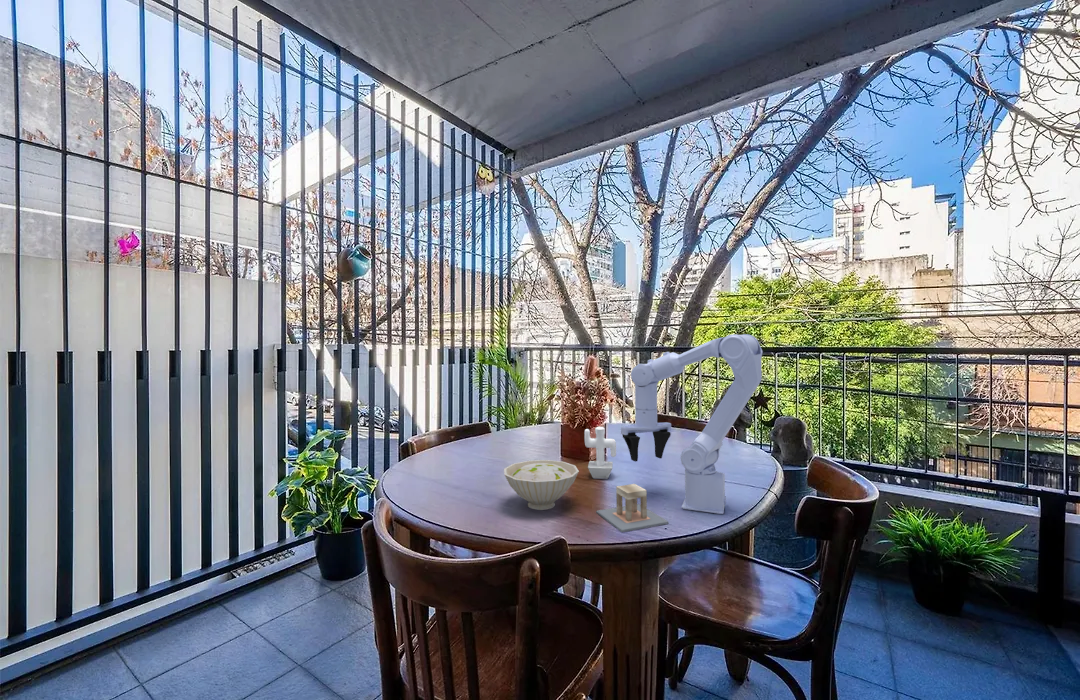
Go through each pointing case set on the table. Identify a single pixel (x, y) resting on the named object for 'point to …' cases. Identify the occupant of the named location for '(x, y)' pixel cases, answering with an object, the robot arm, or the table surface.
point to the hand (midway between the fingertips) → (646, 459)
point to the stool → (631, 500)
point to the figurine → (600, 453)
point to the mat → (636, 522)
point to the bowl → (541, 481)
